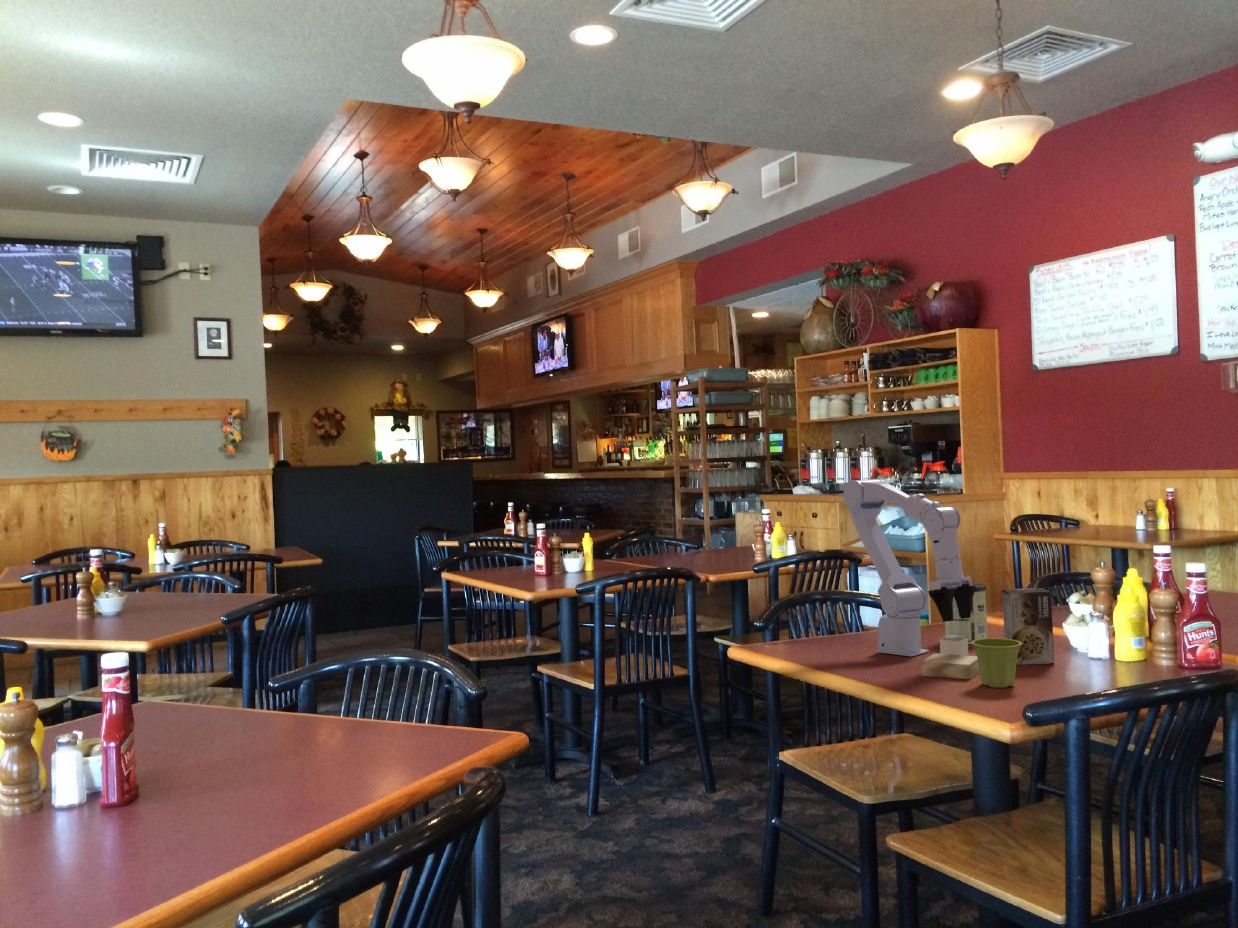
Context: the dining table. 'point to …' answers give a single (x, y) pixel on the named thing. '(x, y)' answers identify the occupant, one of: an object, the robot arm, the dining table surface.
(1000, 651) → the plant pot
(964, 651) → the white rectangular block
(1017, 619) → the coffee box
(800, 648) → the dining table surface
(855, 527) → the robot arm
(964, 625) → the coffee can
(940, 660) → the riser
